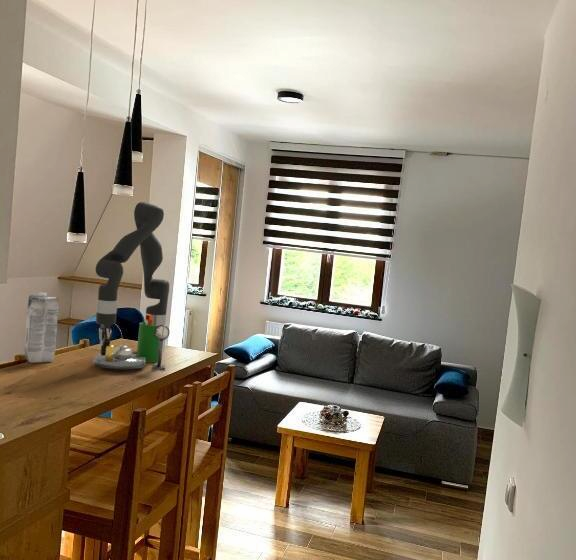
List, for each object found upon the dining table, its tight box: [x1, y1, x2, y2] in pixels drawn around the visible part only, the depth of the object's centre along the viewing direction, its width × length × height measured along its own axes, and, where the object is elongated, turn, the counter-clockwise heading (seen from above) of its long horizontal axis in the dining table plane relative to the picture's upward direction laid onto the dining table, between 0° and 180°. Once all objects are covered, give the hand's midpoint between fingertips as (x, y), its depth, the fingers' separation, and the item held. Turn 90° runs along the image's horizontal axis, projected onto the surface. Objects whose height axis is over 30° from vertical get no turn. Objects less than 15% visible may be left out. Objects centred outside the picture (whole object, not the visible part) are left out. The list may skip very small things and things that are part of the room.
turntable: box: [93, 344, 147, 370], centre depth 249 cm, size 20×20×8 cm
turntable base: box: [107, 368, 129, 371], centre depth 249 cm, size 10×10×1 cm
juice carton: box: [24, 292, 59, 364], centre depth 246 cm, size 9×10×27 cm
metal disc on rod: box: [151, 324, 171, 371], centre depth 254 cm, size 5×6×18 cm
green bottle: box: [136, 314, 159, 363], centre depth 267 cm, size 10×9×20 cm
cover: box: [113, 344, 133, 359], centre depth 249 cm, size 7×7×5 cm
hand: (103, 355), depth 244 cm, fingers closed
